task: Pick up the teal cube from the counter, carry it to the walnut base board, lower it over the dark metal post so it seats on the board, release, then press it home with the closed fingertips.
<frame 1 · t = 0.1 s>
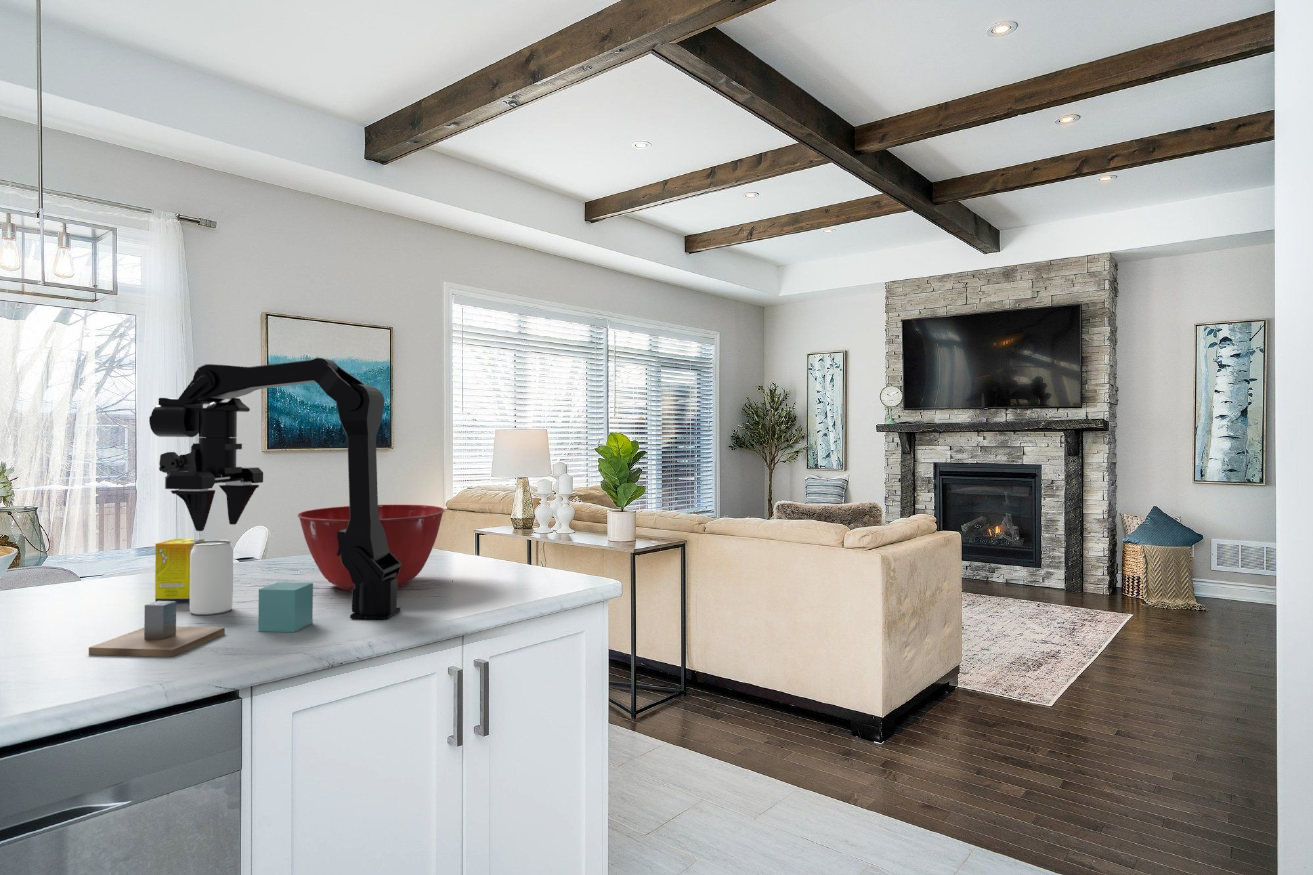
hand: (216, 527, 131), 15 cm above the counter, tool pointing down, fingers open, 9 cm apart
supplement box: (179, 600, 140), on the counter
can: (211, 612, 132), on the counter
teal cube: (286, 626, 122), on the counter
base board: (160, 643, 111), on the counter
post: (160, 620, 111), on the base board, point 4 cm above the counter
mixing bowl: (372, 585, 156), on the counter
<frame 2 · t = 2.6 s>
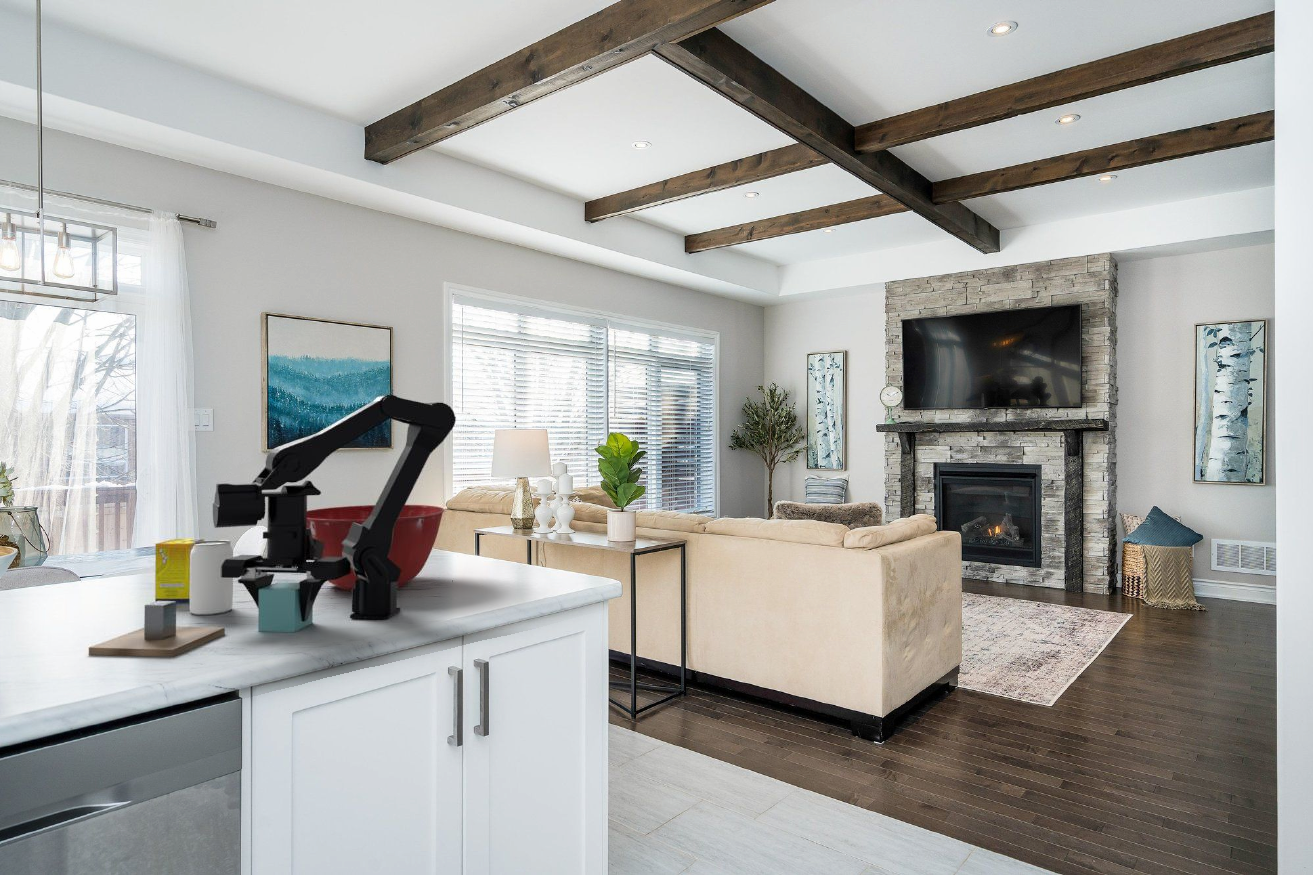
hand: (286, 620, 122), 1 cm above the counter, tool pointing down, fingers closed on teal cube, 6 cm apart
teal cube: (285, 626, 122), on the counter, touching gripper
everything else where it was.
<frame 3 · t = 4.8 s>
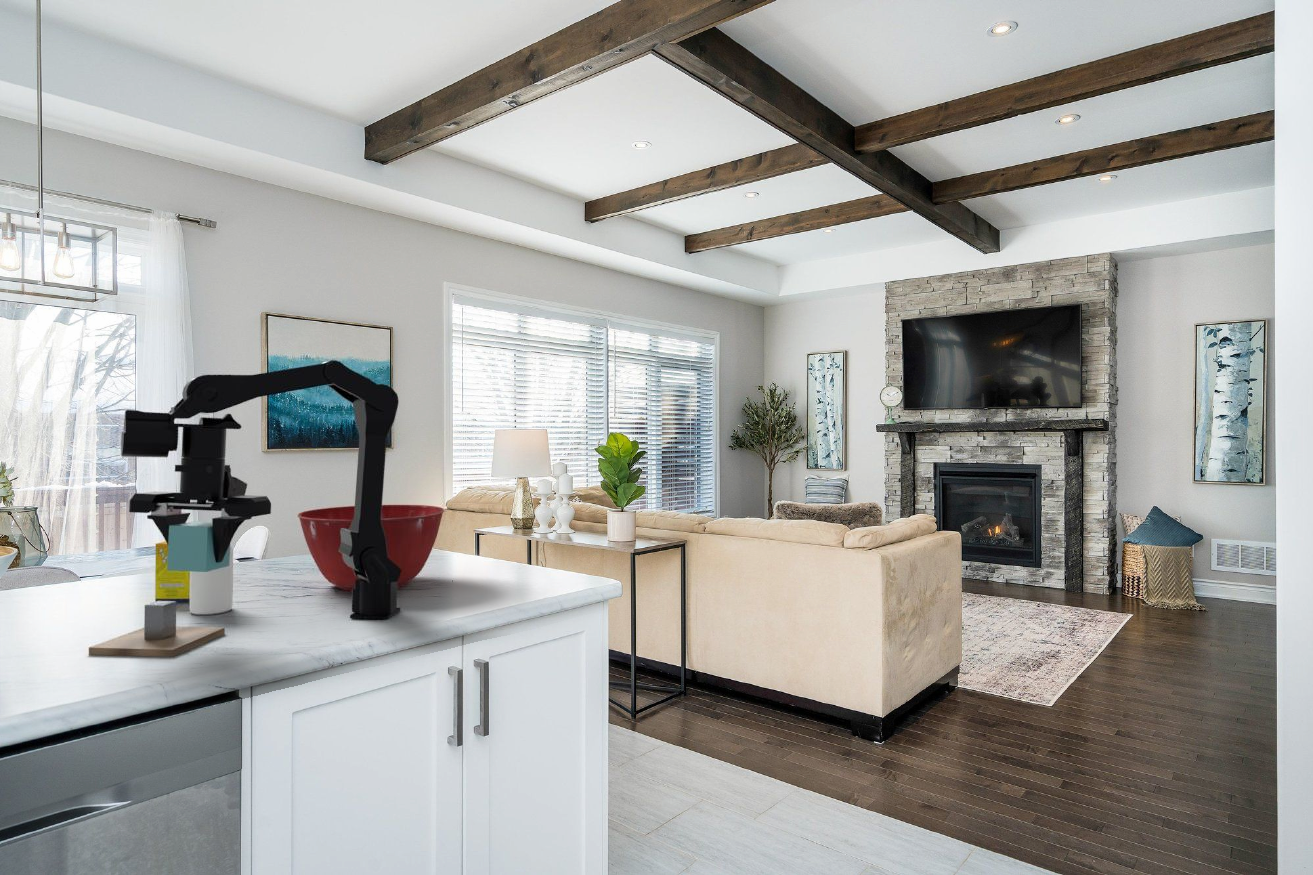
hand: (199, 561, 114), 12 cm above the counter, tool pointing down, fingers closed on teal cube, 6 cm apart
teal cube: (198, 567, 114), point 11 cm above the counter, touching gripper
everything else where it was.
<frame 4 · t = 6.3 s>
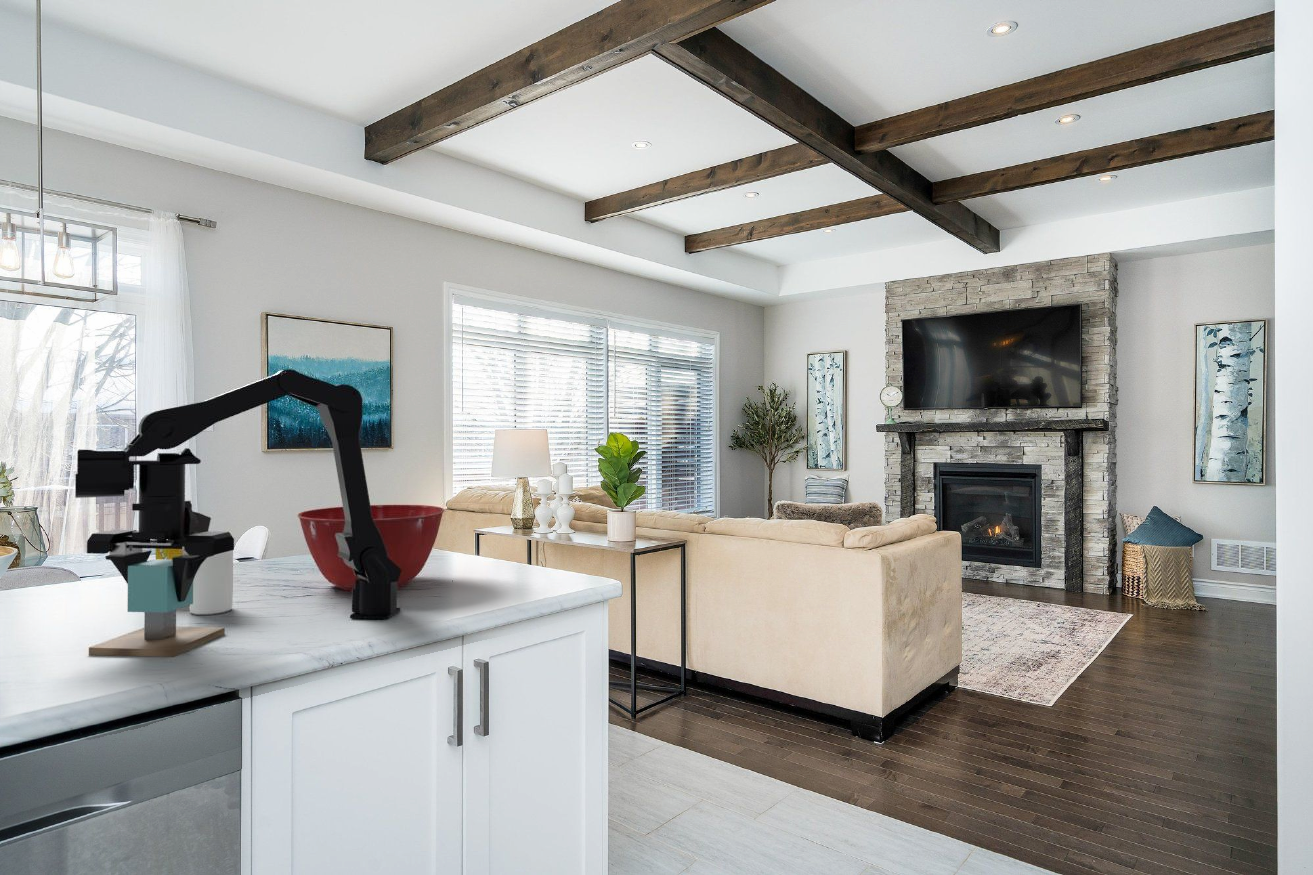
hand: (161, 600, 111), 6 cm above the counter, tool pointing down, fingers closed on teal cube, 6 cm apart
teal cube: (161, 607, 111), point 5 cm above the counter, touching gripper
everything else where it was.
when the fingers open (3 cm above the counter, at t = 7.4 s): teal cube drops 2 cm, resting on base board.
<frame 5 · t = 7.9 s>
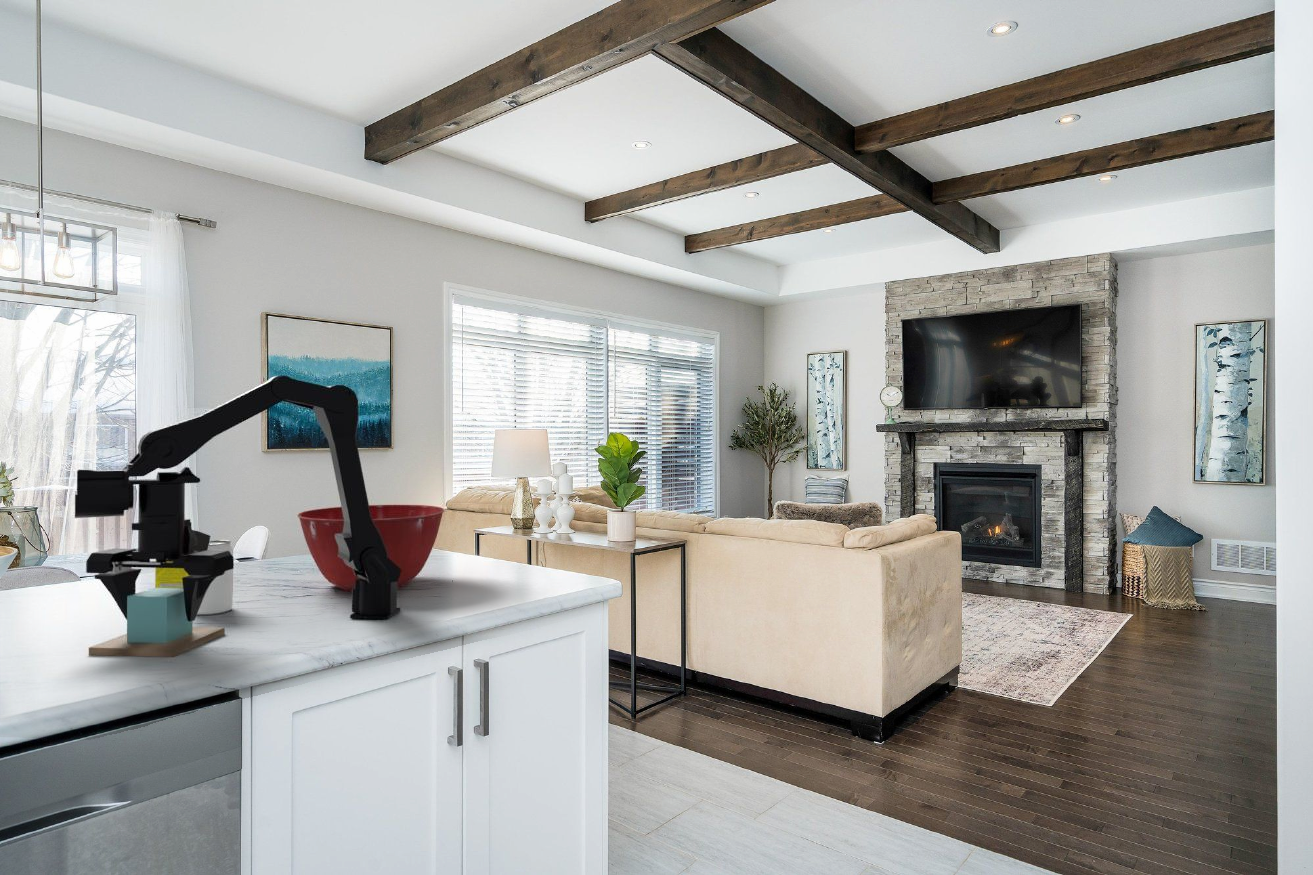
hand: (160, 620, 111), 3 cm above the counter, tool pointing down, fingers open, 9 cm apart
teal cube: (160, 637, 111), point 1 cm above the counter, touching base board
everything else where it was.
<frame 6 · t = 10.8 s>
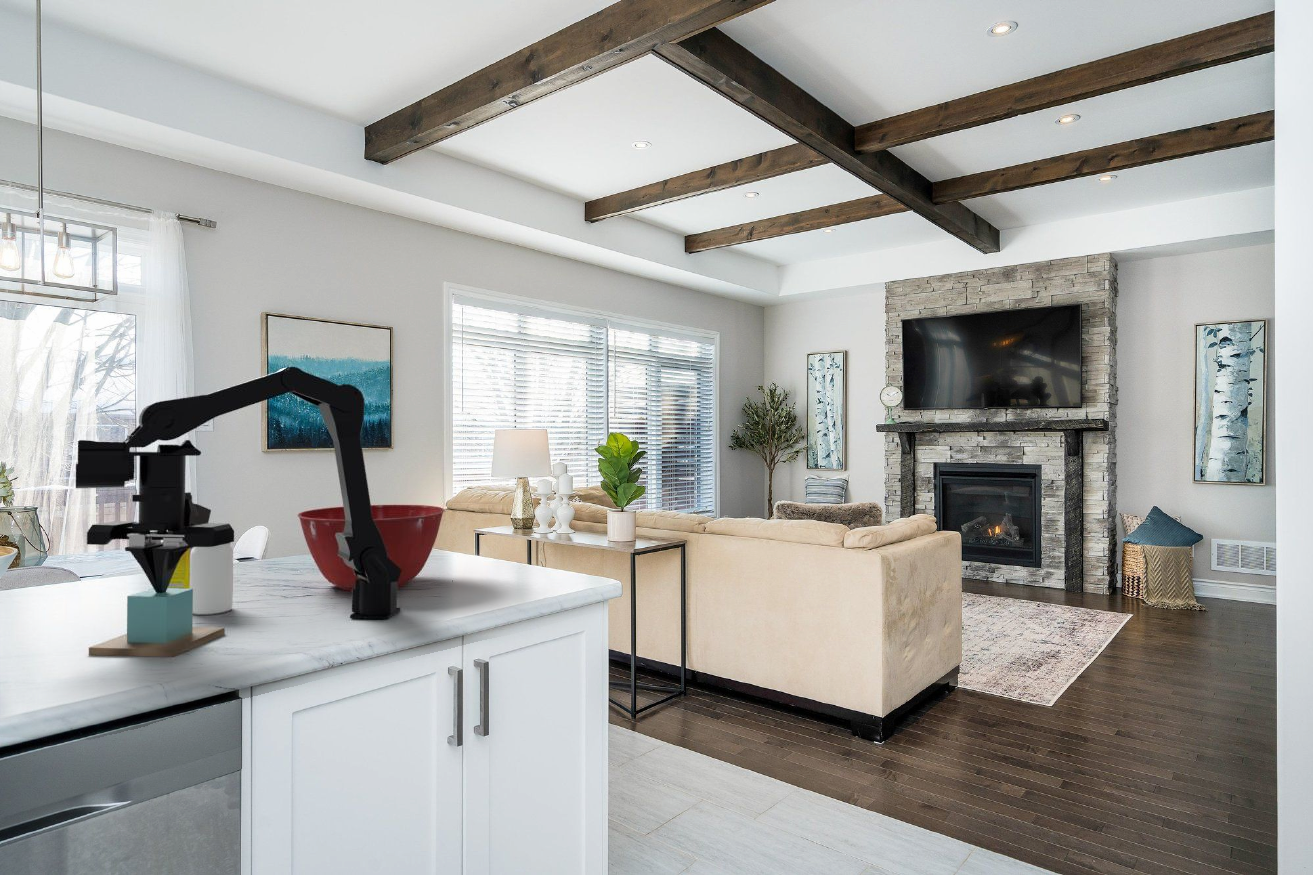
hand: (161, 592, 111), 8 cm above the counter, tool pointing down, fingers closed, pressing on teal cube
teal cube: (160, 637, 111), point 1 cm above the counter, touching base board, gripper
everything else where it was.
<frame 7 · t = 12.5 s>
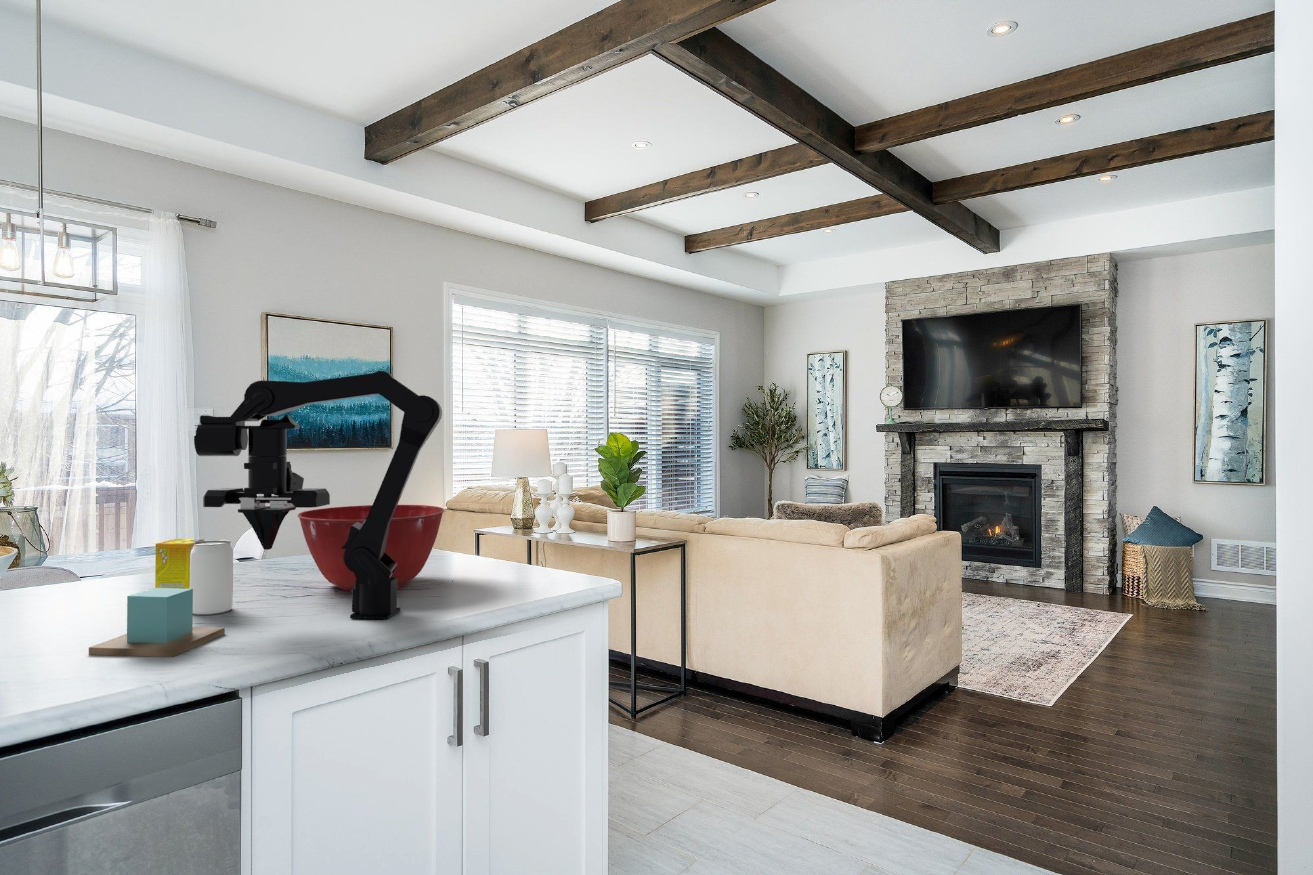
hand: (267, 549, 127), 12 cm above the counter, tool pointing down, fingers closed
teal cube: (160, 637, 111), point 1 cm above the counter, touching base board
everything else where it was.
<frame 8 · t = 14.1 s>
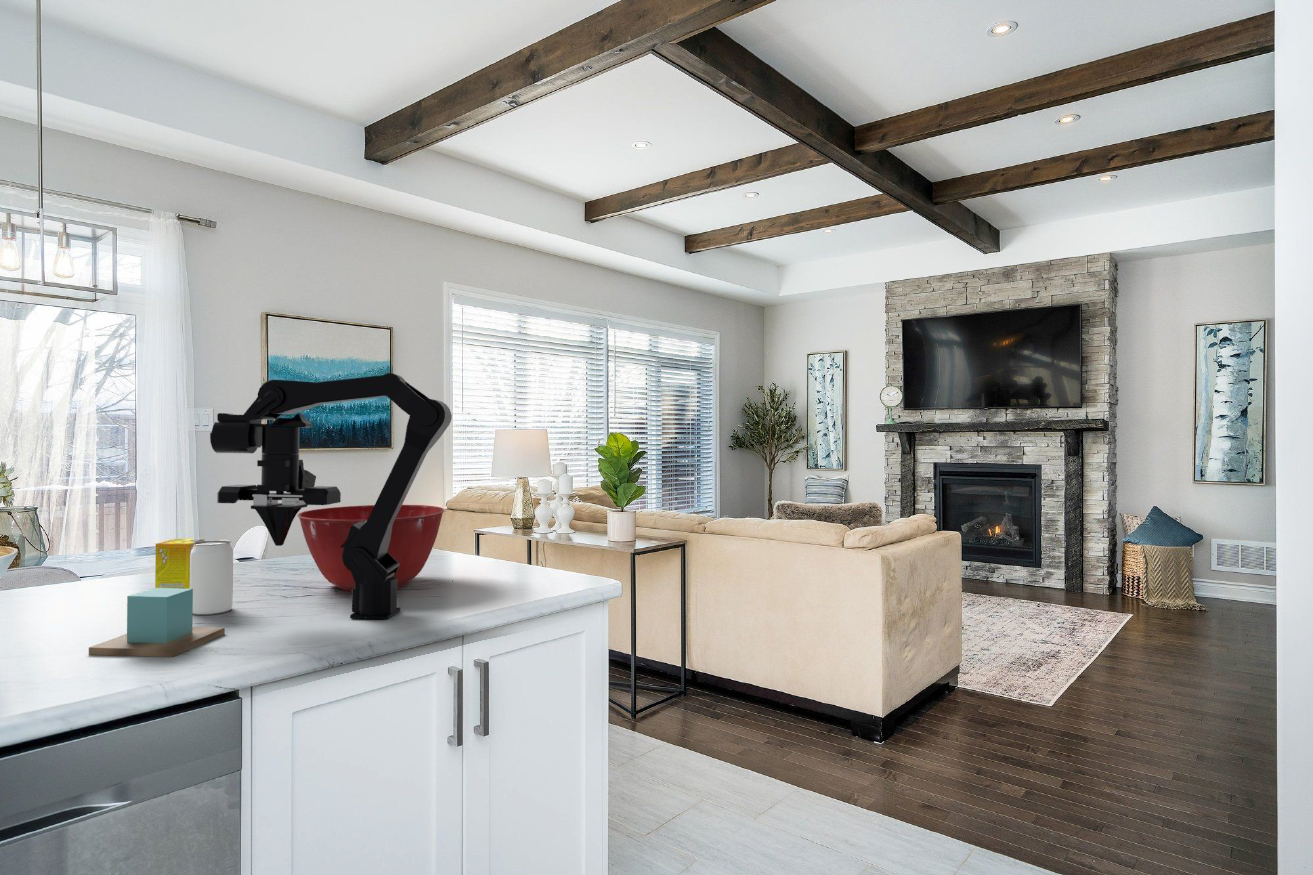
hand: (279, 545, 129), 12 cm above the counter, tool pointing down, fingers closed
nothing on the counter moved.
at the end: teal cube 0.0 cm from the post (horizontally); teal cube point 1.0 cm above the counter; teal cube tilted 0° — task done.
